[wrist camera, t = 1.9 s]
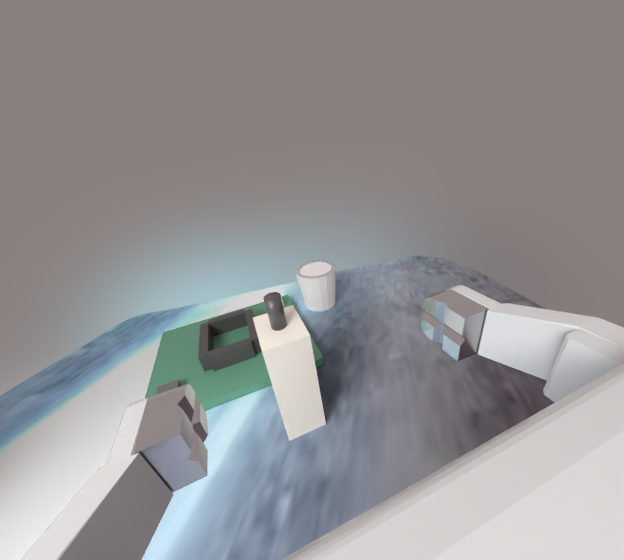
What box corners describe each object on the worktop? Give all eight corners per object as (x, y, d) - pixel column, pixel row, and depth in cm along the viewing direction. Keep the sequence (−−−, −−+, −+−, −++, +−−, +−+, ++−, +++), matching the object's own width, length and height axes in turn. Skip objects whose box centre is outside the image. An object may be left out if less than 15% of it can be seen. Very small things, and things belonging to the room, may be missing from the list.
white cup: (346, 297, 47) (343, 263, 43) (324, 318, 42) (319, 281, 39) (316, 289, 51) (311, 257, 47) (294, 307, 46) (287, 273, 43)
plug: (289, 440, 25) (252, 320, 18) (277, 400, 29) (244, 290, 22) (325, 424, 26) (304, 304, 19) (309, 387, 30) (287, 278, 23)
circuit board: (141, 435, 28) (125, 414, 26) (166, 338, 43) (156, 320, 41) (324, 364, 33) (321, 342, 32) (288, 300, 49) (285, 283, 47)
